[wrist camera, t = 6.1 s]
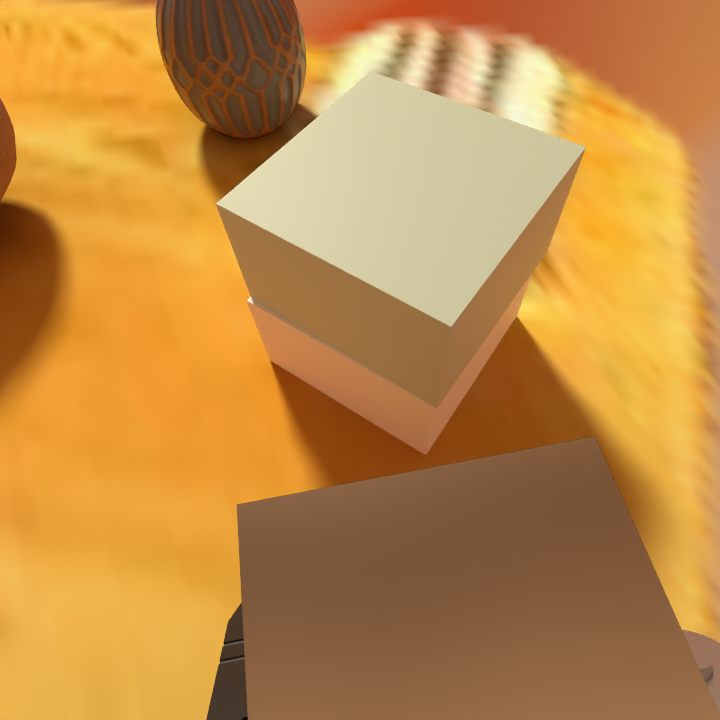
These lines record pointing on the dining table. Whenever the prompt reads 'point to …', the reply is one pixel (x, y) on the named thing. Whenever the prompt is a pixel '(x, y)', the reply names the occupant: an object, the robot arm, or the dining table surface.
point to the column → (462, 599)
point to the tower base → (372, 376)
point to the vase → (234, 61)
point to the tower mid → (400, 227)
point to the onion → (6, 150)
